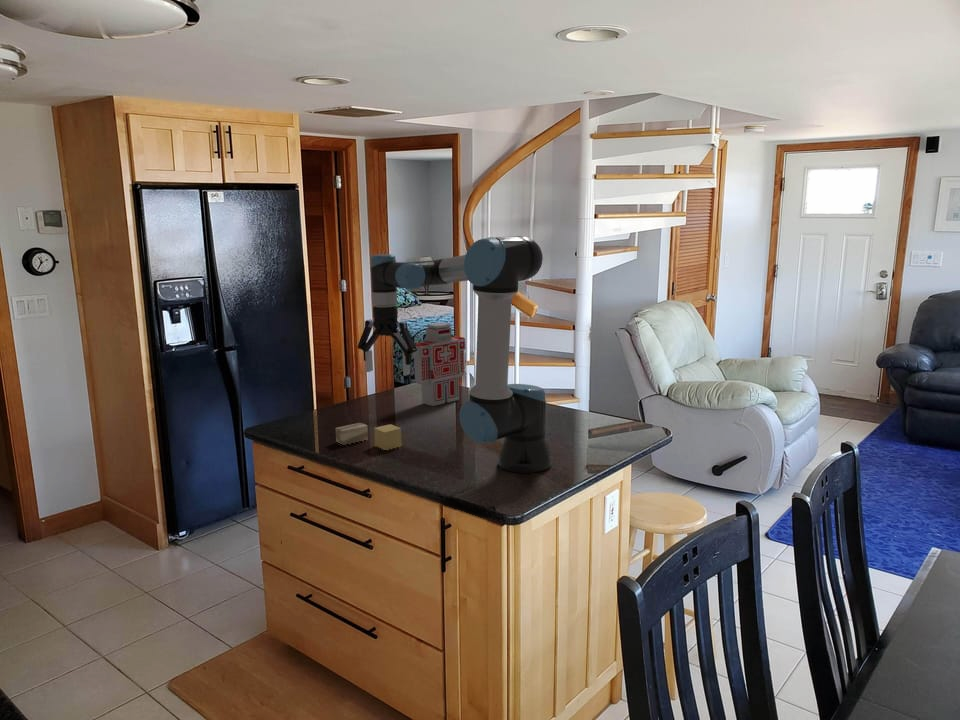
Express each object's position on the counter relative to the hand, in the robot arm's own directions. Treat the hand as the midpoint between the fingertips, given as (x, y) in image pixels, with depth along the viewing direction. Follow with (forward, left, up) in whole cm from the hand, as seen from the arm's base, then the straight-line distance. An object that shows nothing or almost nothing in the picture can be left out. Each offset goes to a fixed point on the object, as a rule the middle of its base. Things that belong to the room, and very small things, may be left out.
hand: (387, 373), depth 225 cm
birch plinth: (+8, +9, -22) cm, 25 cm away
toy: (+28, -40, -22) cm, 53 cm away
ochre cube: (-4, +3, -22) cm, 23 cm away
